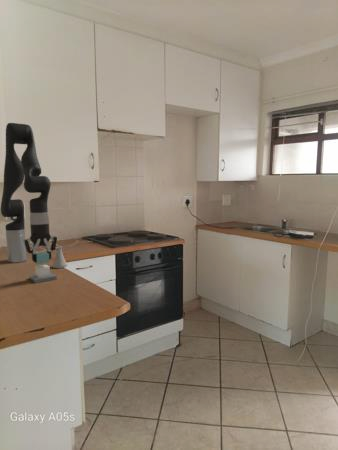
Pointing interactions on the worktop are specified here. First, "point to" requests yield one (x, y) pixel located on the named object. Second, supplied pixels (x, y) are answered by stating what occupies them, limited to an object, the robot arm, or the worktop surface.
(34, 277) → the base plate
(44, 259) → the teal brick
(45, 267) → the white brick
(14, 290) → the worktop surface
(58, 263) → the flask
